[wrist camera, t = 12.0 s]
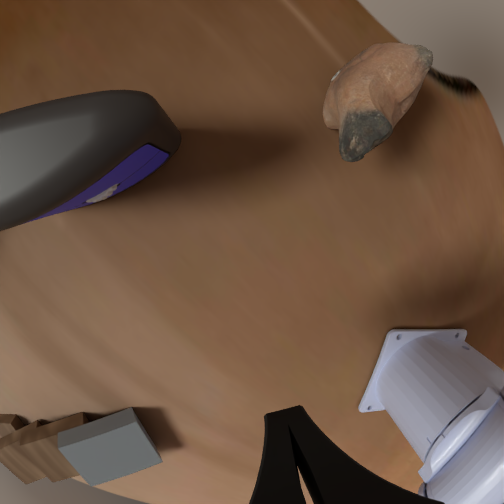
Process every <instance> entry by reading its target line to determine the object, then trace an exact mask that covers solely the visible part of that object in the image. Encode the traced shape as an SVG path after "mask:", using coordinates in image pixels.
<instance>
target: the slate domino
mask: <svg viewBox="0 0 504 504" xmlns="http://www.w3.org/2000/svg"><path fill="white" fill-rule="evenodd" d="M58 449H59V450H60V452H61V453H62V454H63V455H64V457H65V458H66V459H67V460H68V461H69V463H70V464H71V465H72V466H73V467H74V468H75V469H76V471H77V472H78V473H79V474H80V475H81V476H82V477H83V478H84V479H85V481H86V482H87V483H88V484H89V485H90V486H95V485H98V484H101V483H105V482H108V481H111V480H114V479H117V478H120V477H123V476H126V475H129V474H132V473H135V472H137V471H140V470H143V469H146V468H148V467H151V466H153V465H156V464H159V463H161V462H163V461H162V459H161V457H160V455H159V452H158V450H157V448H156V446H155V445H154V443H153V442H152V440H151V438H150V437H149V435H148V434H147V432H146V430H145V429H144V427H143V426H142V424H141V422H140V421H139V419H138V417H137V416H136V414H135V412H134V410H133V409H132V407H131V408H128V409H125V410H123V411H120V412H117V413H115V414H112V415H109V416H106V417H104V418H101V419H98V420H95V421H92V422H89V423H86V424H84V425H81V426H78V427H74V428H71V429H68V430H65V431H62V432H59V433H58Z"/></svg>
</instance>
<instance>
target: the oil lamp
mask: <svg viewBox="0 0 504 504" xmlns="http://www.w3.org/2000/svg"><path fill="white" fill-rule="evenodd" d="M432 62H433V55H432V52H431V51H430V50H428V49H427V48H425V47H423V46H421V45H408V44H402V43H385V44H374V45H372V46H370V47H369V48H367V49H365V50H364V51H362V52H361V53H359V54H358V55H357V56H355V57H354V58H353V59H352V60H350V61H349V62H348V63H347V64H346V65H345V66H344V67H343V68H341V69H340V70H339V71H338V72H337V73H336V74H335V76H334V77H333V78H332V79H331V81H330V86H329V88H328V90H327V93H326V97H325V101H324V105H323V118H324V122H325V124H326V126H327V127H328V128H330V129H338V130H339V151H340V154H341V156H342V159H344V160H345V161H349V162H355V161H358V160H360V159H362V158H363V157H364V155H365V154H366V153H368V152H369V151H371V150H372V149H374V148H375V147H376V146H378V145H379V144H381V143H382V142H383V141H384V140H386V139H387V138H389V136H390V135H391V134H392V131H393V128H394V127H395V125H396V124H397V122H398V121H399V120H400V119H401V118H402V117H403V115H404V114H405V113H406V112H407V111H408V110H409V108H410V107H411V105H412V104H413V103H414V101H415V99H416V97H417V95H418V92H419V91H420V88H421V86H422V84H423V80H424V78H425V76H426V74H427V72H428V71H429V69H430V67H431V65H432Z"/></svg>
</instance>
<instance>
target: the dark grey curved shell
mask: <svg viewBox="0 0 504 504" xmlns="http://www.w3.org/2000/svg"><path fill="white" fill-rule="evenodd" d="M180 142H181V135H180V132H179V130H178V129H177V127H176V126H175V125H174V123H173V122H172V121H171V119H170V118H169V117H168V115H167V114H166V113H165V111H164V110H163V109H162V107H161V106H160V105H159V104H158V102H157V101H156V100H155V99H154V98H153V97H152V96H151V95H149V94H147V93H145V92H141V91H133V90H108V91H100V92H93V93H87V94H81V95H76V96H70V97H65V98H60V99H56V100H51V101H47V102H42V103H38V104H34V105H30V106H26V107H23V108H19V109H16V110H12V111H9V112H5V113H2V114H0V231H1V230H5V229H9V228H12V227H14V226H17V225H20V224H24V223H27V222H30V221H33V220H37V219H40V218H43V217H47V216H50V215H54V214H57V213H61V212H64V211H68V210H72V209H75V208H79V207H83V206H87V205H90V204H93V203H96V202H99V201H102V200H104V199H107V198H109V197H111V196H114V195H116V194H118V193H120V192H122V191H124V190H126V189H128V188H130V187H131V186H133V185H135V184H137V183H138V182H140V181H141V180H143V179H144V178H146V177H147V176H149V175H150V174H152V173H153V172H154V171H156V170H157V169H158V168H160V167H161V166H162V165H163V164H164V163H165V162H166V161H167V160H168V159H169V158H170V157H171V156H172V155H173V154H174V153H175V152H176V150H177V149H178V147H179V145H180Z"/></svg>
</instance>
